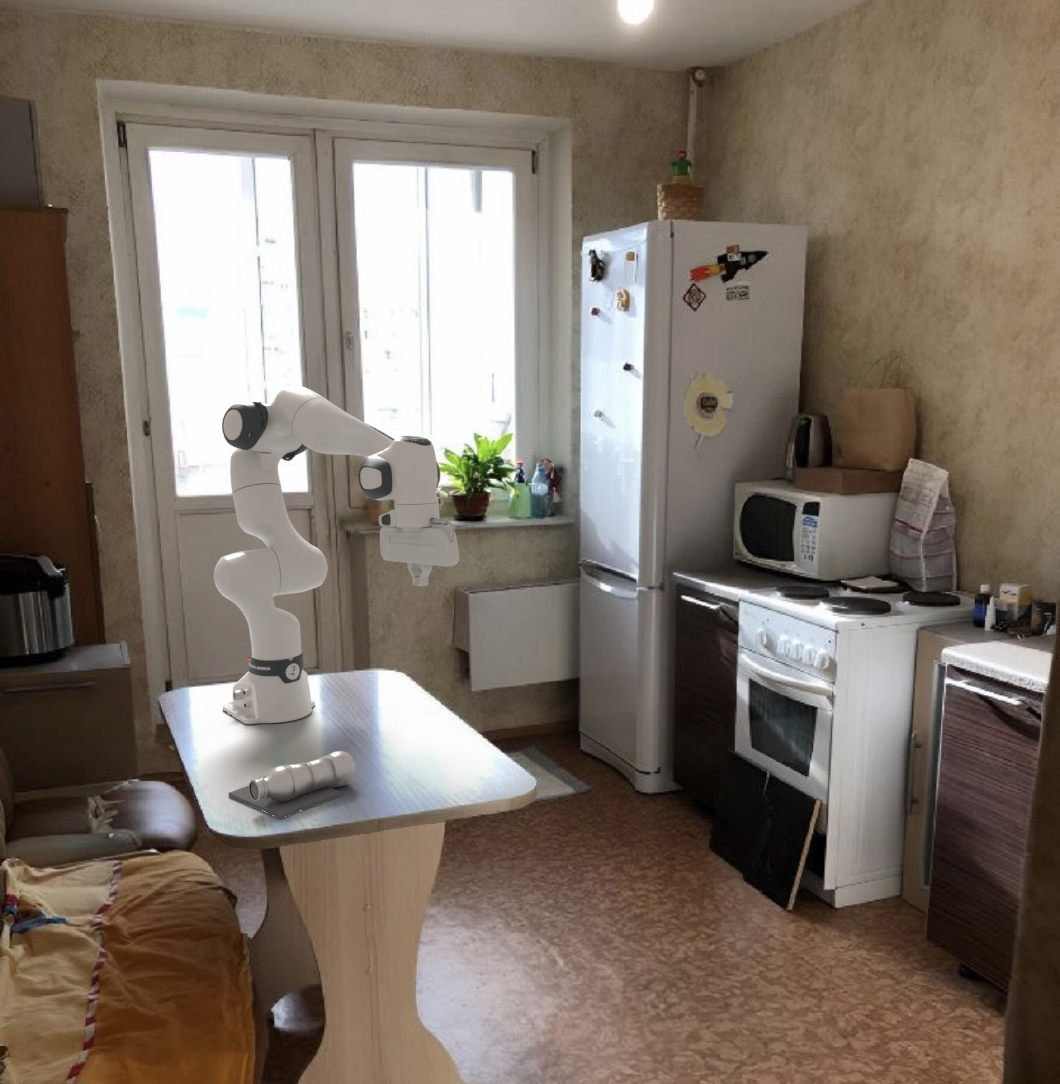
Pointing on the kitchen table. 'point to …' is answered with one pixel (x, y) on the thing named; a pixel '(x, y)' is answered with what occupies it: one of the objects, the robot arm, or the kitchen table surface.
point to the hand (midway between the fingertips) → (420, 585)
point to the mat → (289, 806)
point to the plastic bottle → (304, 777)
